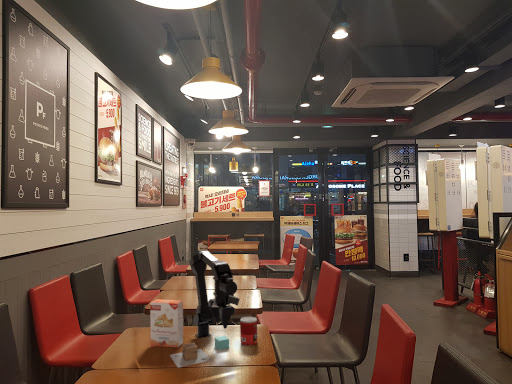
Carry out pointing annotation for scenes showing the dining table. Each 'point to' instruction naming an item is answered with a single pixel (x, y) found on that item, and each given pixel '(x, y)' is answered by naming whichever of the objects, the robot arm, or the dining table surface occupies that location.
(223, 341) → the teal cube
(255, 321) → the canned food
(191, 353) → the walnut cube
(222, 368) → the dining table surface
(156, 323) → the cracker box
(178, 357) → the plate
